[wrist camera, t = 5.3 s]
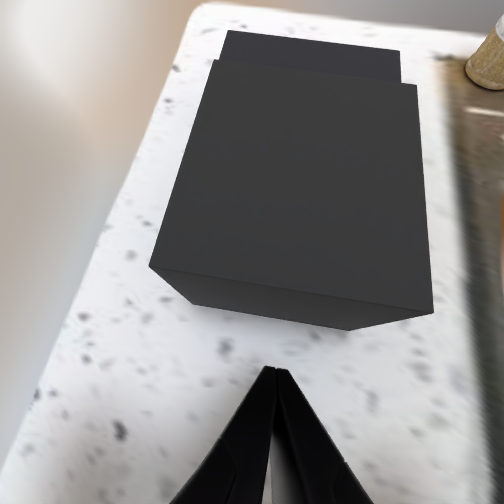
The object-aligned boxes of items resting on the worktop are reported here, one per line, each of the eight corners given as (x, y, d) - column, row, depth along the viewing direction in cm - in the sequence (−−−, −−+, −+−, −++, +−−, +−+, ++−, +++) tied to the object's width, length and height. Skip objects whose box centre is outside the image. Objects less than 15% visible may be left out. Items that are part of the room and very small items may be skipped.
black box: (349, 330, 16) (434, 313, 9) (192, 304, 17) (147, 266, 9) (354, 183, 20) (417, 84, 13) (226, 164, 21) (213, 58, 13)
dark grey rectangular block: (368, 158, 21) (404, 101, 16) (220, 137, 22) (212, 76, 17) (369, 112, 23) (401, 48, 18) (231, 93, 23) (227, 27, 19)
